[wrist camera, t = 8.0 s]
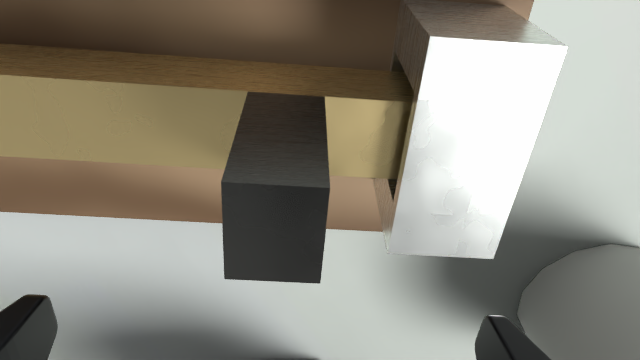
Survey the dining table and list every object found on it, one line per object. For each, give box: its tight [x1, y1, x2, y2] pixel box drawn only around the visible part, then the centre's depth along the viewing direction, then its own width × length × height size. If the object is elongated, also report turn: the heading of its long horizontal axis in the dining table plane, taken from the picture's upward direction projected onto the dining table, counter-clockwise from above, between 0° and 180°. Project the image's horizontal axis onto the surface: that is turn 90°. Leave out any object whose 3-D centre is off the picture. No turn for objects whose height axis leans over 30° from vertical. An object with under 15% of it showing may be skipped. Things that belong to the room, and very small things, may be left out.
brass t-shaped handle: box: [0, 44, 414, 283], centre depth 15 cm, size 3×22×8 cm, turn 85°
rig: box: [372, 0, 568, 259], centre depth 17 cm, size 8×32×5 cm, turn 86°
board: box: [0, 0, 534, 232], centre depth 20 cm, size 14×34×1 cm, turn 86°
